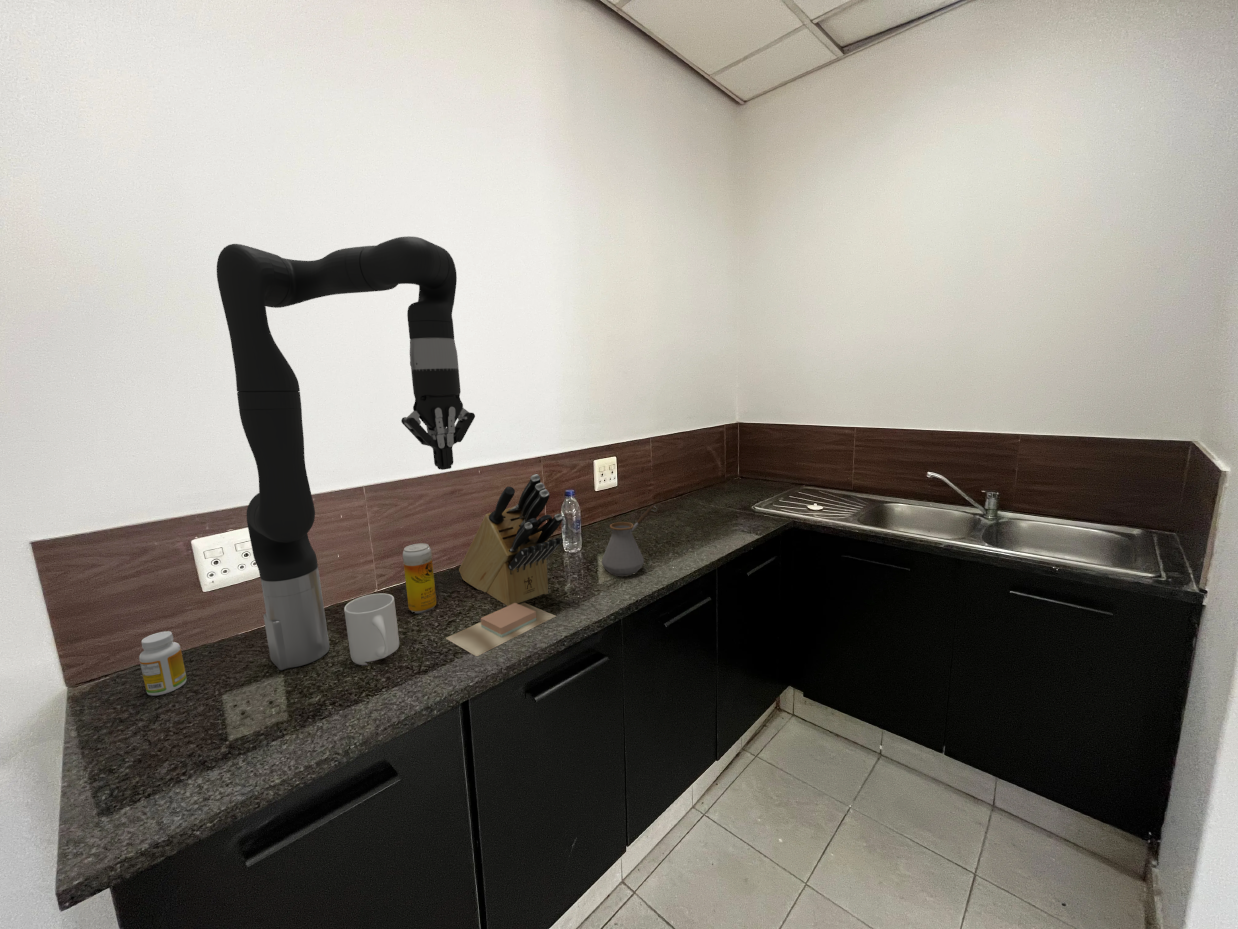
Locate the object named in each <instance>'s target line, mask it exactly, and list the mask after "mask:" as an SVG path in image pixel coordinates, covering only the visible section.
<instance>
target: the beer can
mask: <svg viewBox="0 0 1238 929" xmlns="http://www.w3.org/2000/svg"><path fill="white" fill-rule="evenodd" d="M432 556H433V554H432V549H431V547H430V546H429V544H428V543H414V544H410V545H407V546H405V547H404V548H403V551H402V560H403V571H404V579H405V589H406V596H407V606H408V610H409V611H411V613H413V612H415V613H414V614H423V613H426V612H429V611H430V610H433V609H434V608H435V606H436V605H437V595H436V585H435V584H436V583H435V576H434V574H435V573H434V566H433V557H432Z"/></svg>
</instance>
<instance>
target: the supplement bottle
mask: <svg viewBox="0 0 1238 929" xmlns="http://www.w3.org/2000/svg"><path fill="white" fill-rule="evenodd" d="M140 642H141V647H142V649H143V651H141V652H140V654H139V657H138V660H139V664H140V669H141V673H142V678H143V679H142V680H143V681H144V682H143V683H144V686H145V692H146V694H147V695H148V696H162V695H165V694H168V693H171V692H173V691H175V690H177V689H179V688H181V687H182V686H184V685H185V684H186V683H187V674H186V673H187V672H186V667H185V663H184V658H183V657H184V656H183V653H182V652H183V651H182V649H181V645H180V643H178V642H175V641H174V636H173V633H172V631H170V630H169V631H165V630H164V631H160V632H156V633H153V634H150V635H147V636H146V637H144V638H142V640H141V641H140Z"/></svg>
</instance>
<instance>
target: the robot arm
mask: <svg viewBox="0 0 1238 929" xmlns="http://www.w3.org/2000/svg"><path fill="white" fill-rule="evenodd" d="M216 279H217V286H218V290H219V295H220V300H221V304H222V307H223V308H222V309H223V311H224V316H225V320H226V324H227V329H228V334H229V339H230V345H231V352H232V359H233V364H234V371H235V372H234V373H235V384H236V395H237V403H238V404H237V405H238V409H239V410H238V412H239V417H240V422H241V426H242V429H243V432H244V434H245V437H246V441H247V443H248V446H249V448H250V450H251V453H252V455H253V458H254V461H255V465H256V469H257V474H258V475H257V476H258V492H257V493H256V494H255V495H254V496H253V497H252V498H251V500H250V501H249V503H248V505H247V508H246V523H247V529H248V534H249V540H250V546H251V550H252V555H253V558H254V559H253V560H254V561H255V564H256V567H257V569H258V570H257V571H258V572H259V578H260V583H261V584H260V585H261V589H262V596H263V603H264V610H265V613H263V622H264V628H265V633H266V639H267V646H268V651H269V657H270V660H271V662H272V663H273V664H274V666H276V667H277V668H278V670H279V671H283V670H286V669H290V668H297V667H301V666H304V665H308V664H311V663H313V662H316V661H317V660H319V659H322V657H324V656H325V655H326V654H327V653H328V652H329V651H330V639H329V636H328V627H327V621H326V613H325V608H324V607H325V605H324V598H323V593H322V592H323V591H322V586H321V585H322V584H321V578H320V572H319V564H318V558H317V554H316V552H315V550H314V548H313V547H312V545H311V542H310V539H309V536H308V535H309V532H310V530H311V529H312V528H313V525H314V522H315V517H316V510H315V509H316V508H315V504H314V500H313V496H312V492H311V487H310V482H309V477H308V474H307V468H306V461H305V458H306V457H305V440H304V439H305V438H304V436H305V435H304V428H303V425H304V424H303V411H302V400H301V398H302V397H301V392H300V391H301V389H300V383H299V380H298V378H297V375H296V374H295V371H294V370H293V368H292V367H291V364H290V363H289V362H288V360H287V359H286V357H285V355H284V354H283V352H282V351H281V350H280V348H279V347H278V345H277V343H276V341H275V339H274V337H273V335H272V332H271V329H270V327H269V320H268V316H267V307H268V308H273V309H274V308H275V309H277V308H278V309H279V308H286V307H289V306H294V305H297V304H301V303H304V302H307V301H311V300H315V299H318V298H323V297H327V296H329V297H330V296H334V295H342V294H344V295H345V294H357V293H369V292H370V293H371V292H383V291H389V290H393V289H395V288H396V287H397V286H398V285H408V284H409V285H416V286H418V300H417V301H415V302H413V303H411V304H410V305H408V308H407V315H406V317H407V324H408V335H409V366H410V371H411V381H412V390H413V392H412V393H413V397H414V404H413V406H412V407H413V408H412V409H413V411H411V413H410V414H409V415H408V416H407V417H406V416H404V417H402V418H401V421H400V422H401V423H402V425H403V426H404V427H405V429H407V430H408V431H409V433H411V434H412V435H413V436H414V438H415V439H417V441H419V443H420V444H421V445H423V446H427V447H430V448H432V452H433V453H432V454H433V462H434V463H433V464H434V466H435V467H437V469H438V470H441V471H443V470H450V469H452V466H453V465H454V452H453V446H454V445H455V444H457V443H461V442H462V441H463V440H464V438H465V436H466V434H467V432H468V430H469V428H470V427H471V426H472V424H473V422H474V420H475V417H476V414H475V413H474V412H470V411H468V410H467V409H466V408H464V403H463V402H462V400H461V397H460V395H461V382H460V371H459V370H460V369H459V359H458V356H459V355H458V350H457V347H456V341H455V332H454V320H453V310H454V309H453V308H454V305H455V299H456V298H455V297H456V289H457V279H458V278H457V269H456V264H455V262H454V259H453V257H452V255H451V254H450V252H449V251H447V250H446V249H445V248H444V247H442V246H439V245H438V244H435V243H433V242H431V241H428V240H426V239H424V238H421V237H418V236H399V237H395V238H392V239H388V240H385V241H383V242H380V243H379V244H377V245H363V246H355V247H354V246H353V247H352V246H351V247H345V248H341V249H337V250H335V251H332V252H329V253H328V254H326V255H324V257H322V258H319V259H314V260H297V259H290V258H285V257H281V256H280V255H278V254H275V253H272V252H268V251H265V250H262V249H259V248H256V247H253V246H249V245H245V244H240V243H230V244H228V245H226V246H224V247H223V249H222V250H221V251H220V253H219V254H218V258H217V262H216ZM421 423H423V424H424V425H425V427H426V429H425V428H424V427H423V426H422V425H421Z"/></svg>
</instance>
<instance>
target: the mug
mask: <svg viewBox="0 0 1238 929" xmlns="http://www.w3.org/2000/svg"><path fill="white" fill-rule="evenodd" d="M343 610H344V618H345V625H346V632H347V640H348V645H349V646H348V647H349V653H350V658H351V660H352V661H353V663H354V664H356V665H360V666H369V664H368V663H367V662H374V661H378V660H381V659H384V658H387V657H388V656H390V655H392V654H393V653H395V652H396V651H397V650H398V649H399V647H400V638H399V629H398V619H397V613H396V612H397V611H396V603H395V597H394V596H393V595H392V594H389V593H384V592H383V593H382V592H381V593H372V594H366V595H363V596H360V597H356V598H355V599H353V600H351V601H349V602H348V603H346V605H345V606H344V608H343Z"/></svg>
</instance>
